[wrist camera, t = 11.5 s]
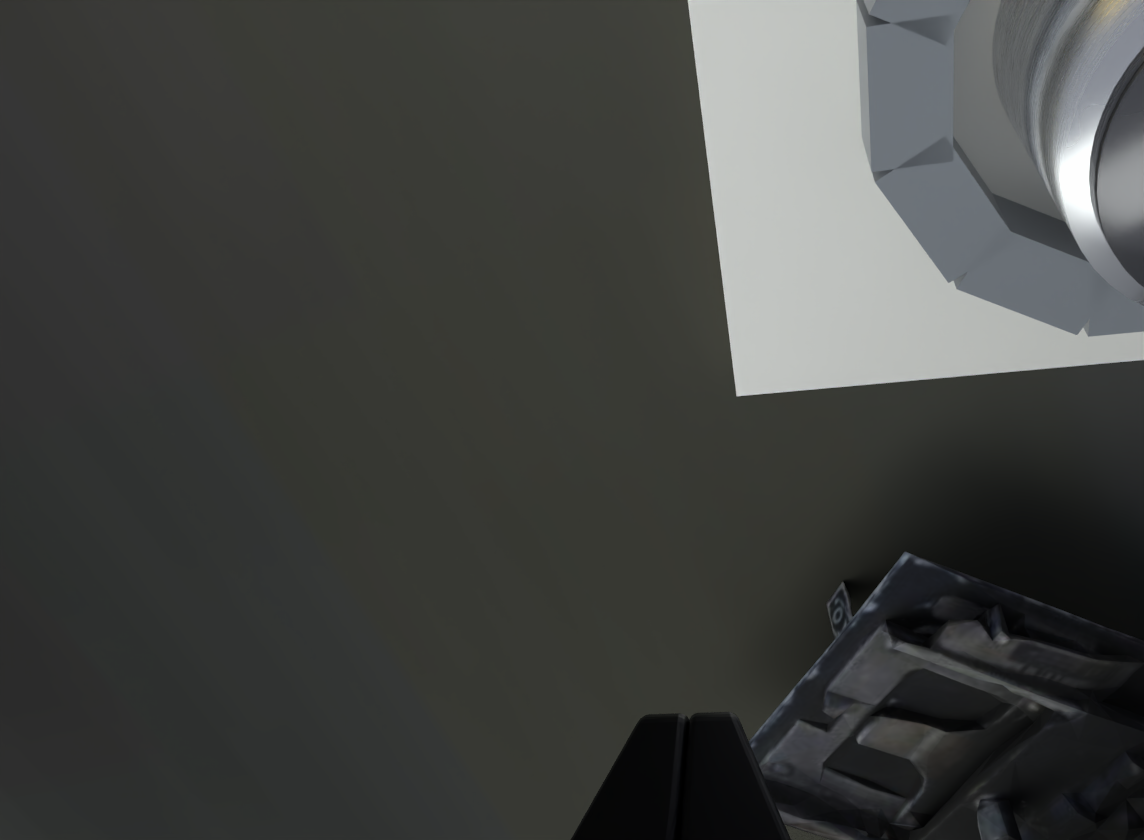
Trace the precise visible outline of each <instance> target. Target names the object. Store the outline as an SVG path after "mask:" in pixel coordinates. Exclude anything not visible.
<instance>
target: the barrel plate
mask: <svg viewBox="0 0 1144 840" xmlns="http://www.w3.org/2000/svg"><path fill="white" fill-rule="evenodd" d="M1000 3H1001V0H688V5H689V14H690V22H691V30H692V38H693V46H694V54H695V62H696V70H697V78H698V86H699V95H700V103H701V111H702V119H703V127H704V135H705V143H706V151H707V159H708V168H709V176H710V184H711V192H712V200H713V208H714V216H715V224H716V232H717V240H718V249H719V257H720V265H721V273H722V281H723V289H724V297H725V305H726V313H727V322H728V330H729V338H730V346H731V354H732V362H733V370H734V378H735V386H736V394H737V396H745V395H756V394H767V393H779V392H790V391H801V390H812V389H823V388H835V387H846V386H857V385H868V384H880V383H891V382H902V381H913V380H924V379H936V378H947V377H958V376H969V375H980V374H992V373H1003V372H1014V371H1025V370H1036V369H1048V368H1059V367H1070V366H1081V365H1093V364H1104V363H1115V362H1126V361H1137V360H1144V306H1143V305H1141V304H1139V303H1137V302H1135V301H1133V300H1131V299H1129V298H1127V297H1126V296H1125V295H1123V294H1122V293H1121V292H1119V291H1118V290H1116V289H1115V288H1114V287H1112V286H1111V285H1110V284H1109V283H1108V282H1107V281H1106V280H1105V279H1104V278H1103V277H1102V276H1101V275H1100V274H1099V273H1098V272H1097V271H1096V270H1095V269H1094V268H1093V267H1092V265H1091V264H1090V263H1089V261H1088V260H1087V258H1086V257H1085V256H1084V254H1083V253H1082V251H1081V250H1080V248H1079V246H1078V244H1077V242H1076V241H1075V239H1074V237H1073V235H1072V233H1071V231H1070V230H1069V228H1068V226H1067V224H1066V222H1065V220H1064V219H1063V217H1062V215H1061V213H1060V211H1059V210H1058V208H1057V206H1056V204H1055V202H1054V200H1053V199H1052V197H1051V195H1050V193H1049V191H1048V190H1047V188H1046V186H1045V184H1044V182H1043V180H1042V179H1041V177H1040V175H1039V173H1038V171H1037V169H1036V168H1035V166H1034V164H1033V162H1032V160H1031V159H1030V157H1029V155H1028V153H1027V151H1026V149H1025V148H1024V146H1023V144H1022V142H1021V140H1020V139H1019V137H1018V135H1017V133H1016V131H1015V129H1014V128H1013V126H1012V124H1011V122H1010V120H1009V118H1008V116H1007V114H1006V112H1005V110H1004V108H1003V106H1002V104H1001V101H1000V98H999V95H998V92H997V88H996V85H995V79H994V72H993V65H992V43H993V36H994V29H995V22H996V18H997V14H998V11H999V7H1000Z"/></svg>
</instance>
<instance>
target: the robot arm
mask: <svg viewBox="0 0 1144 840" xmlns="http://www.w3.org/2000/svg"><path fill="white" fill-rule="evenodd" d="M571 840H791V839H790V836H789V834H788V832H787V829H786V827H785V825H784V822H783V820H782V818H781V815H780V813H779V811H778V809H777V806H776V804H775V802H774V799H773V797H772V795H771V792H770V790H769V788H768V785H767V783H766V781H765V778H764V776H763V774H762V771H761V769H760V767H759V764H758V762H757V760H756V757H755V755H754V753H753V751H752V748H751V746H750V744H749V741H748V739H747V737H746V734H745V732H744V730H743V727H742V725H741V723H740V721H739V719H738V717H737V716H736V715H735V714H734V713H732V712H711V713H696V714H694V715H692V716H691V718H690V720H689V719H688V717H687V716H685V715H684V714H680V713H679V714H649V715H645V716H644V717H642V718H641V719H640V720H639V721H638V723H637V724H636V726H635V728H634V730H633V731H632V733H631V735H630V737H629V738H628V740H627V742H626V744H625V745H624V747H623V749H622V751H621V752H620V754H619V756H618V758H617V759H616V761H615V763H614V765H613V766H612V768H611V770H610V772H609V773H608V775H607V777H606V779H605V780H604V782H603V784H602V786H601V787H600V789H599V791H598V793H597V794H596V796H595V798H594V800H593V802H592V803H591V805H590V807H589V809H588V810H587V812H586V814H585V816H584V817H583V819H582V821H581V823H580V824H579V826H578V828H577V830H576V831H575V833H574V835H573V837H572V838H571Z"/></svg>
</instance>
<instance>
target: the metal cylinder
mask: <svg viewBox="0 0 1144 840" xmlns="http://www.w3.org/2000/svg"><path fill="white" fill-rule="evenodd" d="M992 65H993V72H994V79H995V85H996V88H997V92H998V95H999V98H1000V101H1001V104H1002V106H1003V108H1004V110H1005V112H1006V114H1007V116H1008V118H1009V120H1010V122H1011V124H1012V126H1013V128H1014V129H1015V131H1016V133H1017V135H1018V137H1019V139H1020V140H1021V142H1022V144H1023V146H1024V148H1025V149H1026V151H1027V153H1028V155H1029V157H1030V159H1031V160H1032V162H1033V164H1034V166H1035V168H1036V169H1037V171H1038V173H1039V175H1040V177H1041V179H1042V180H1043V182H1044V184H1045V186H1046V188H1047V190H1048V191H1049V193H1050V195H1051V197H1052V199H1053V200H1054V202H1055V204H1056V206H1057V208H1058V210H1059V211H1060V213H1061V215H1062V217H1063V219H1064V220H1065V222H1066V224H1067V226H1068V228H1069V230H1070V231H1071V233H1072V235H1073V237H1074V239H1075V241H1076V242H1077V244H1078V246H1079V248H1080V250H1081V251H1082V253H1083V254H1084V256H1085V257H1086V258H1087V260H1088V261H1089V263H1090V264H1091V265H1092V267H1093V268H1094V269H1095V270H1096V271H1097V272H1098V273H1099V274H1100V275H1101V276H1102V277H1103V278H1104V279H1105V280H1106V281H1107V282H1108V283H1109V284H1110V285H1111V286H1112V287H1114V288H1115V289H1116V290H1118V291H1119V292H1121V293H1122V294H1123V295H1125V296H1126V297H1127V298H1129V299H1131V300H1133V301H1135V302H1137V303H1139V304H1141V305H1143V306H1144V0H1001V3H1000V7H999V11H998V14H997V18H996V22H995V29H994V36H993V43H992Z"/></svg>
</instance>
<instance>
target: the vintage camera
mask: <svg viewBox="0 0 1144 840" xmlns="http://www.w3.org/2000/svg"><path fill="white" fill-rule="evenodd" d="M826 606H827V610H828V615H829V619H830V623H831V628H832V632H833V636H834V641H833V642H832V643H831V645H830V646H829V647H828V648H827V649H826V651H825V652H824V653H823V654H822V655H821V657H820V658H819V659H818V660H817V661H816V663H815V664H814V665H813V666H812V667H811V668H810V670H809V671H808V672H807V673H806V674H805V675H804V677H803V678H802V679H801V680H800V681H799V682H798V684H797V685H796V686H795V687H794V688H793V689H792V691H791V692H790V693H789V694H788V695H787V697H786V698H785V699H784V700H783V701H782V703H781V704H780V705H779V706H778V707H777V709H776V710H775V711H774V712H773V713H772V714H771V716H770V717H769V718H768V719H767V720H766V722H765V723H764V724H763V725H762V726H761V728H760V729H759V730H758V731H757V732H756V734H755V735H754V736H753V737H752V738H751V740H750V741H749V744H750V746H751V748H752V751H753V753H754V755H755V757H756V760H757V762H758V764H759V767H760V769H761V771H762V774H763V776H764V778H765V781H766V783H767V785H768V788H769V790H770V792H771V795H772V797H773V799H774V802H775V804H776V806H777V809H778V811H779V813H780V815H781V818H782V820H783V822H784V825H787V826H791V827H794V828H797V829H800V830H803V831H806V832H809V833H812V834H815V835H818V836H821V837H824V838H827V839H830V840H1144V641H1143V640H1140V639H1138V638H1135V637H1132V636H1129V635H1126V634H1123V633H1121V632H1118V631H1115V630H1112V629H1109V628H1106V627H1104V626H1101V625H1099V624H1096V623H1094V622H1091V621H1088V620H1086V619H1083V618H1081V617H1078V616H1076V615H1073V614H1070V613H1068V612H1065V611H1063V610H1060V609H1057V608H1055V607H1052V606H1049V605H1047V604H1044V603H1041V602H1039V601H1036V600H1034V599H1031V598H1028V597H1026V596H1023V595H1020V594H1018V593H1015V592H1012V591H1010V590H1007V589H1004V588H1002V587H999V586H996V585H994V584H991V583H988V582H986V581H983V580H980V579H978V578H975V577H972V576H969V575H967V574H964V573H961V572H959V571H956V570H953V569H951V568H948V567H945V566H942V565H940V564H937V563H934V562H932V561H929V560H926V559H924V558H921V557H918V556H915V555H913V554H910V553H907V552H904V553H903V555H902V556H901V557H900V558H899V560H898V561H897V562H896V563H895V565H894V566H893V567H892V568H891V570H890V571H889V572H888V574H887V575H886V576H885V577H884V579H883V580H882V581H881V582H880V584H879V585H878V586H877V587H876V589H875V590H874V591H873V593H872V594H871V595H870V596H869V598H868V599H867V600H866V601H865V603H864V604H863V605H862V606H861V608H860V609H859V610H858V612H857V613H856V614H855V615H854V616H852V611H851V596H850V594H849V592H848V590H847V588H846V586H845V584H844V582H842V583H841V584H840V586H839V587H838V588H837V590H836V591H835V592H834V593H833V595H832V596H831V597H830V599H829V600H828V601H827V603H826Z"/></svg>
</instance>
